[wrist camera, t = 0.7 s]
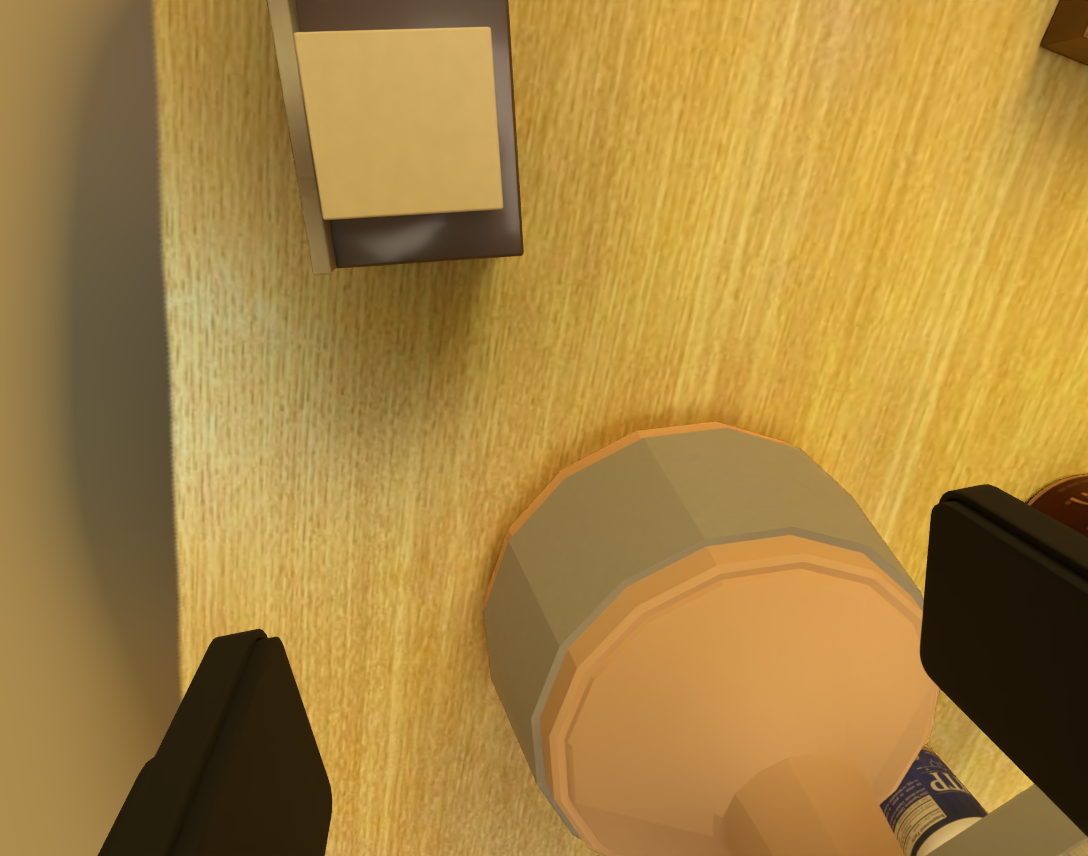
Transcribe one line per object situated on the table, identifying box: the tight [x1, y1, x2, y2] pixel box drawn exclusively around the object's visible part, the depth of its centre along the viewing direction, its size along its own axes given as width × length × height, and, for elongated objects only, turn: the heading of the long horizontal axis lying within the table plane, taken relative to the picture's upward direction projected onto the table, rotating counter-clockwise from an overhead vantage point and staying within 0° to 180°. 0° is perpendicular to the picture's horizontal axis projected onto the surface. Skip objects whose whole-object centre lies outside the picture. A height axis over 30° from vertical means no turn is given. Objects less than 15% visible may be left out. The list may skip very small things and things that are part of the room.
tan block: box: [294, 27, 503, 220], centre depth 17 cm, size 4×4×3 cm
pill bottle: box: [879, 744, 988, 856], centre depth 38 cm, size 5×5×9 cm
